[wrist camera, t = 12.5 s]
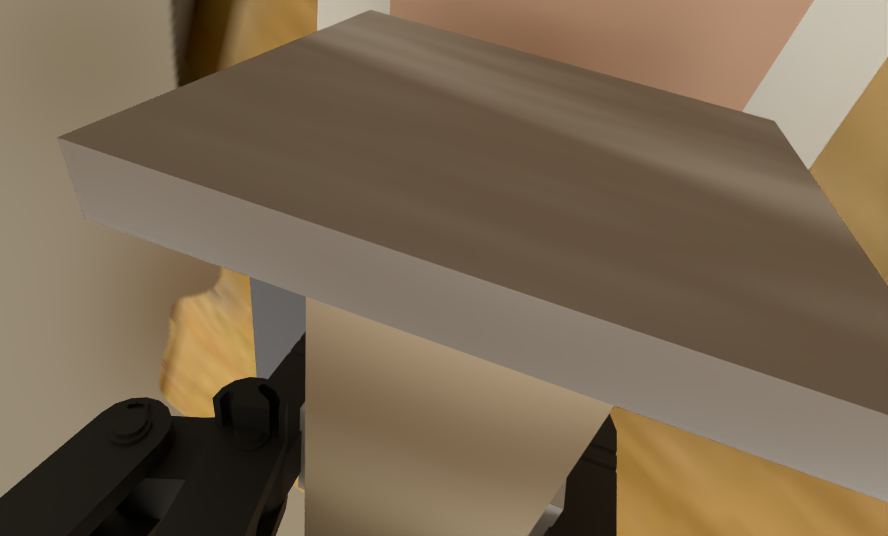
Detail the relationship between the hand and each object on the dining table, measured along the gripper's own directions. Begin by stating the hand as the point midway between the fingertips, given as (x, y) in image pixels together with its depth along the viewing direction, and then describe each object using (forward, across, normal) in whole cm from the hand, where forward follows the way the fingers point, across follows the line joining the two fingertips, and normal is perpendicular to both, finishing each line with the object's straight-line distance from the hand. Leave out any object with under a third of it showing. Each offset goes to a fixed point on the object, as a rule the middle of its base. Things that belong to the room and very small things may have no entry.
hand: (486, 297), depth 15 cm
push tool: (0, 0, +1) cm, 1 cm away
